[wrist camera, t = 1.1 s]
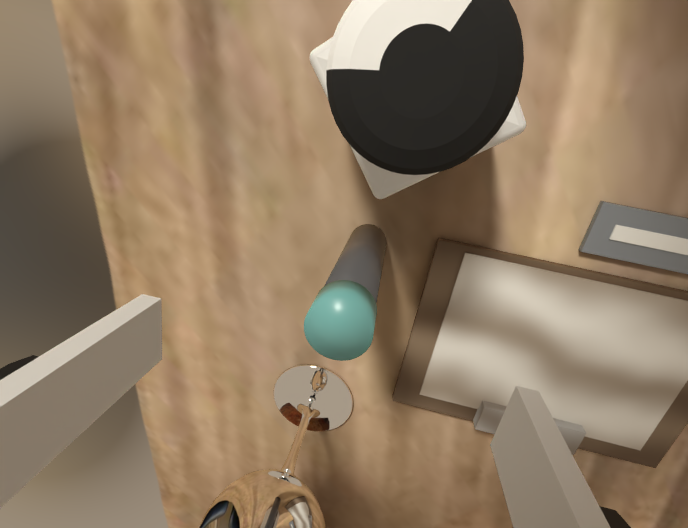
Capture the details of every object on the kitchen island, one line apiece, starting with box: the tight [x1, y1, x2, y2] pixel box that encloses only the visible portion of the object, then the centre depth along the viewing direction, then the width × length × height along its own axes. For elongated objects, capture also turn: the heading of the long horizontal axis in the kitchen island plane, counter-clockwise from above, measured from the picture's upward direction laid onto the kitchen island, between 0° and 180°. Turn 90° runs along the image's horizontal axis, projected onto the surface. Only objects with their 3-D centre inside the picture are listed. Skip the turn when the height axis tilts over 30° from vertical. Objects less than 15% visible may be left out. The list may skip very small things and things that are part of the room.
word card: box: [579, 201, 688, 274], centre depth 24 cm, size 4×9×1 cm, turn 80°
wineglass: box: [199, 364, 353, 528], centre depth 24 cm, size 8×8×20 cm
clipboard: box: [393, 238, 688, 468], centre depth 27 cm, size 15×22×2 cm
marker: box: [304, 224, 386, 361], centre depth 21 cm, size 3×3×13 cm
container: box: [310, 0, 526, 199], centre depth 17 cm, size 8×8×13 cm
